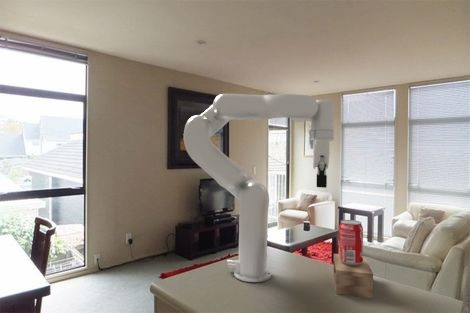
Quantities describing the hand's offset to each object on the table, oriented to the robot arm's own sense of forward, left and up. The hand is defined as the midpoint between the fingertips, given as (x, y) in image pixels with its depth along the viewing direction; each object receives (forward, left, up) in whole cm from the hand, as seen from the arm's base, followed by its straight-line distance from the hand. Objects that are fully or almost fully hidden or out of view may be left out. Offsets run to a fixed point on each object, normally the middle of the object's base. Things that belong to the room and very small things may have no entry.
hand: (321, 186), depth 106 cm
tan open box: (+10, -6, -30) cm, 32 cm away
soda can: (+9, -6, -24) cm, 26 cm away
